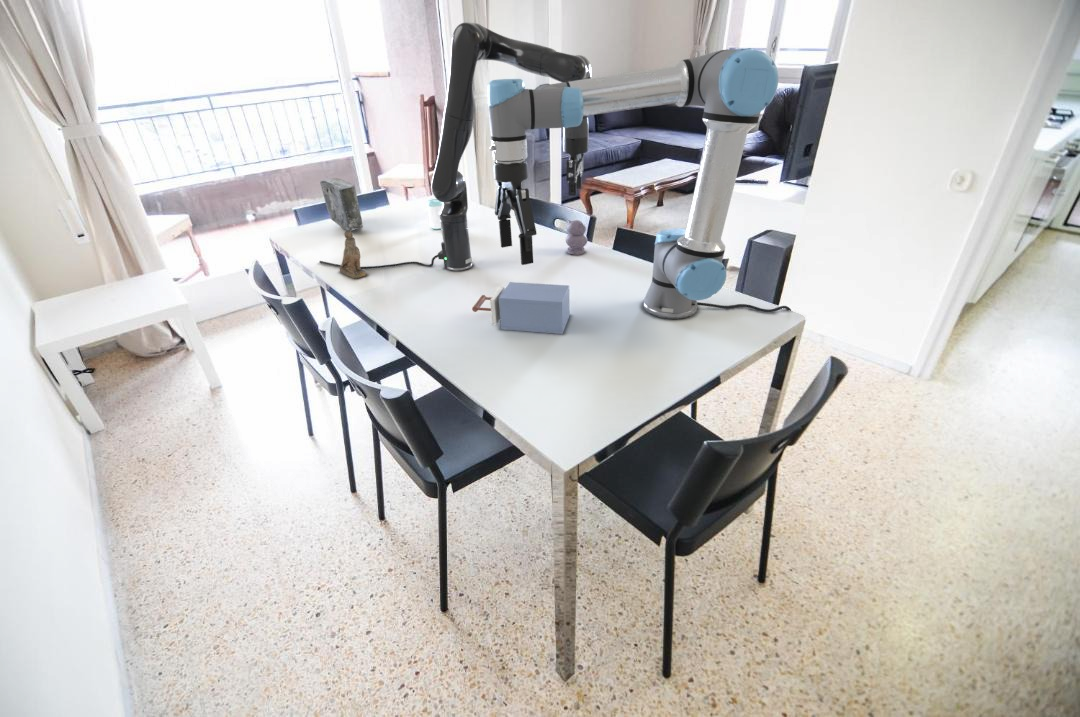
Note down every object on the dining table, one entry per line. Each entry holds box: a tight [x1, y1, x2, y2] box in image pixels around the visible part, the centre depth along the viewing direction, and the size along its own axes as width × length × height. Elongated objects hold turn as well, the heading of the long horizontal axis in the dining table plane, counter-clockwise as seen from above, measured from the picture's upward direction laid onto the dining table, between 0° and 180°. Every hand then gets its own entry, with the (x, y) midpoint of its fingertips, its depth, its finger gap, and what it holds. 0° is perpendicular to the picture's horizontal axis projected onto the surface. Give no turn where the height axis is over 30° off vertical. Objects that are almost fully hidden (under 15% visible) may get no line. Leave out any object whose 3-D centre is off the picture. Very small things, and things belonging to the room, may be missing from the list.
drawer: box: [471, 285, 506, 326], centre depth 140 cm, size 22×10×8 cm, turn 77°
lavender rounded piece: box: [565, 219, 588, 256], centre depth 186 cm, size 8×8×12 cm
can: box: [426, 198, 443, 230], centre depth 220 cm, size 7×7×12 cm
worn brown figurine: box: [339, 230, 367, 280], centre depth 174 cm, size 12×6×18 cm, turn 43°
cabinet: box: [499, 281, 570, 335], centre depth 139 cm, size 17×11×10 cm, turn 77°
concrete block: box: [319, 177, 364, 232], centre depth 222 cm, size 27×9×20 cm, turn 36°
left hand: (575, 191), depth 154 cm, fingers open, 8 cm apart
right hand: (516, 254), depth 119 cm, fingers open, 13 cm apart
